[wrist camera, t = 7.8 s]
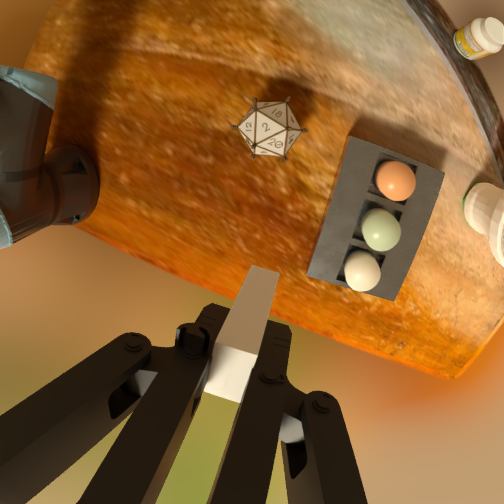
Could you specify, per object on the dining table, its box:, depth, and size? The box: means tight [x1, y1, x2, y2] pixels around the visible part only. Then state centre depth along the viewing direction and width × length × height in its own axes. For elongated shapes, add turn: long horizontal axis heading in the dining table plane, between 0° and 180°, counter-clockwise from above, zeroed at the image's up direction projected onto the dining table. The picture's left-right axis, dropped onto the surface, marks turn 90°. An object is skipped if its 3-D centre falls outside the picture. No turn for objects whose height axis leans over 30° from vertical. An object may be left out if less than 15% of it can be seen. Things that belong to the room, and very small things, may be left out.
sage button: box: [361, 208, 401, 251], centre depth 37 cm, size 5×5×3 cm
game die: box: [231, 96, 308, 162], centre depth 37 cm, size 9×8×10 cm
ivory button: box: [344, 250, 381, 291], centre depth 40 cm, size 5×5×3 cm
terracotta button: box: [375, 160, 416, 201], centre depth 35 cm, size 5×5×3 cm
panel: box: [306, 136, 445, 301], centre depth 40 cm, size 14×20×4 cm
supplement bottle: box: [454, 17, 504, 60], centre depth 25 cm, size 5×5×10 cm
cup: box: [463, 183, 504, 267], centre depth 31 cm, size 11×11×14 cm
